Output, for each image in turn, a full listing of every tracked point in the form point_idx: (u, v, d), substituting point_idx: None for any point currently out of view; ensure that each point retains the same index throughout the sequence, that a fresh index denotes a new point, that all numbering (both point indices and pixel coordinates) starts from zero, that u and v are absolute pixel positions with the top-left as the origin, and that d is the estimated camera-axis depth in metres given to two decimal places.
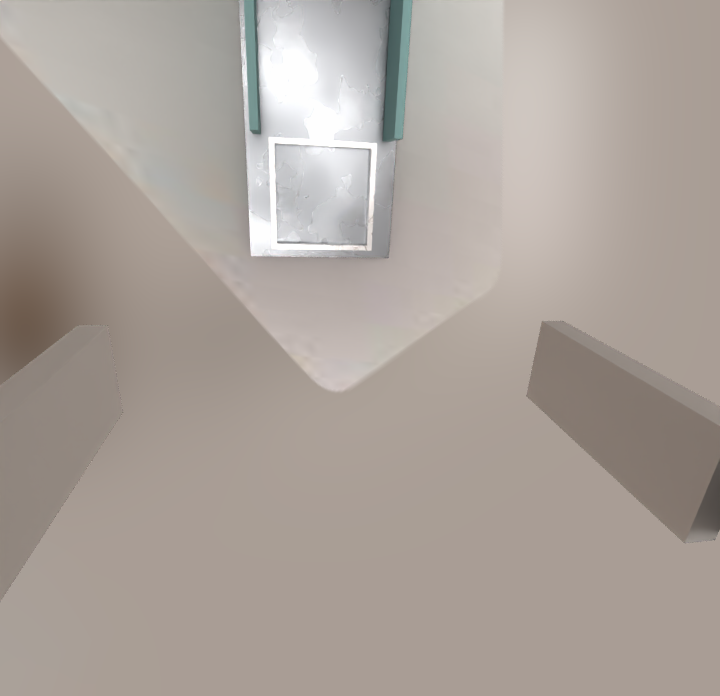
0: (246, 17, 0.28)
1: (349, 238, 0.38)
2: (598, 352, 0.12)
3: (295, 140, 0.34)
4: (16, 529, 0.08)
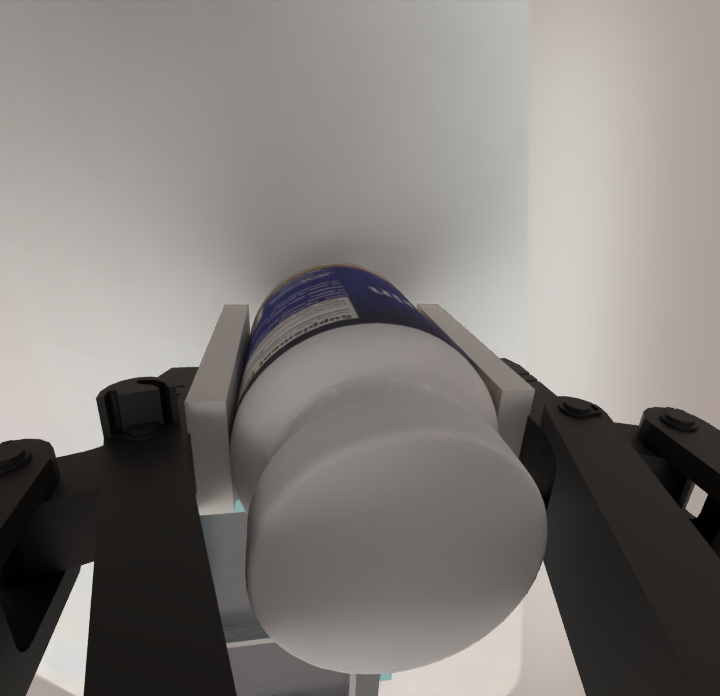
0: None
1: None
2: (445, 329, 0.13)
3: (248, 642, 0.25)
4: None
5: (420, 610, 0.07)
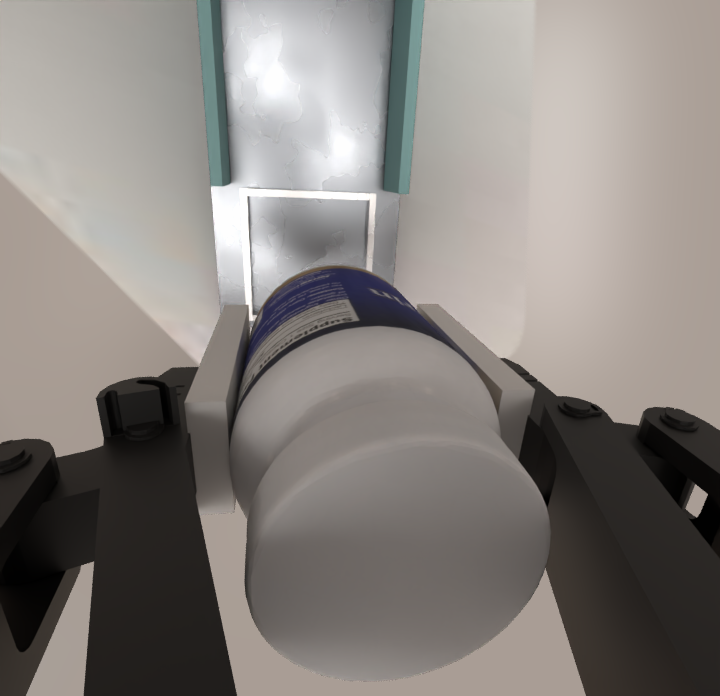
0: (202, 43, 0.21)
1: None
2: (445, 329, 0.13)
3: (273, 192, 0.27)
4: None
5: (422, 618, 0.07)
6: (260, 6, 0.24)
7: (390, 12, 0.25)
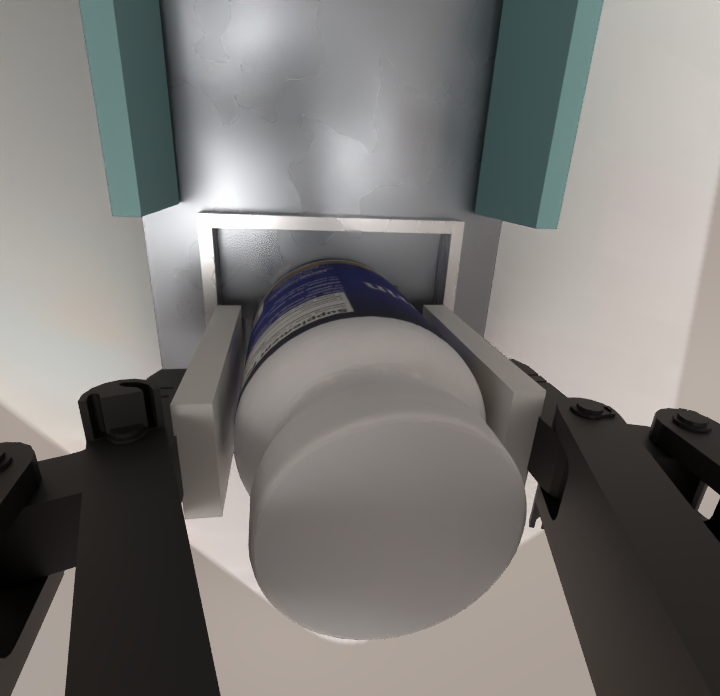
0: None
1: None
2: (453, 330, 0.13)
3: (265, 220, 0.13)
4: (225, 455, 0.10)
5: (409, 580, 0.08)
6: None
7: None
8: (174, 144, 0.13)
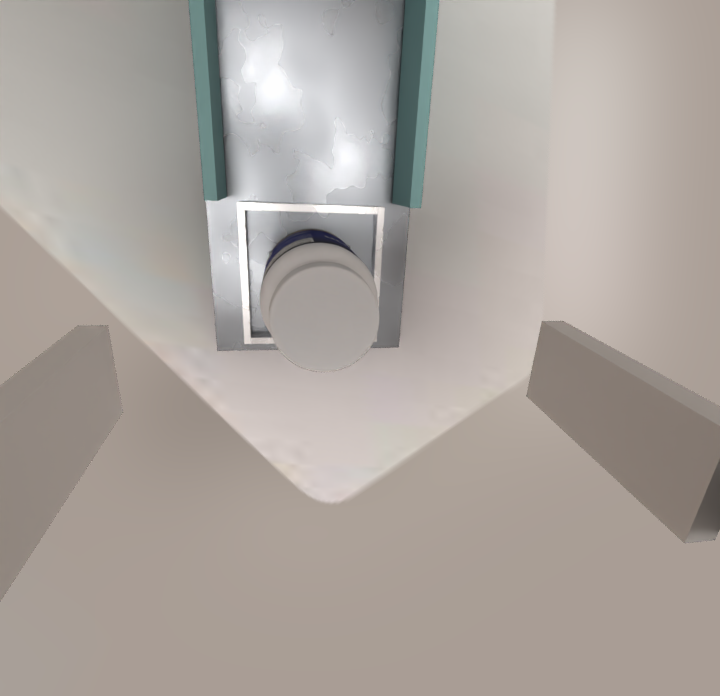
0: (194, 44, 0.19)
1: None
2: (598, 352, 0.12)
3: (273, 205, 0.25)
4: (16, 529, 0.08)
5: (332, 342, 0.19)
6: (259, 5, 0.22)
7: (400, 12, 0.23)
8: None
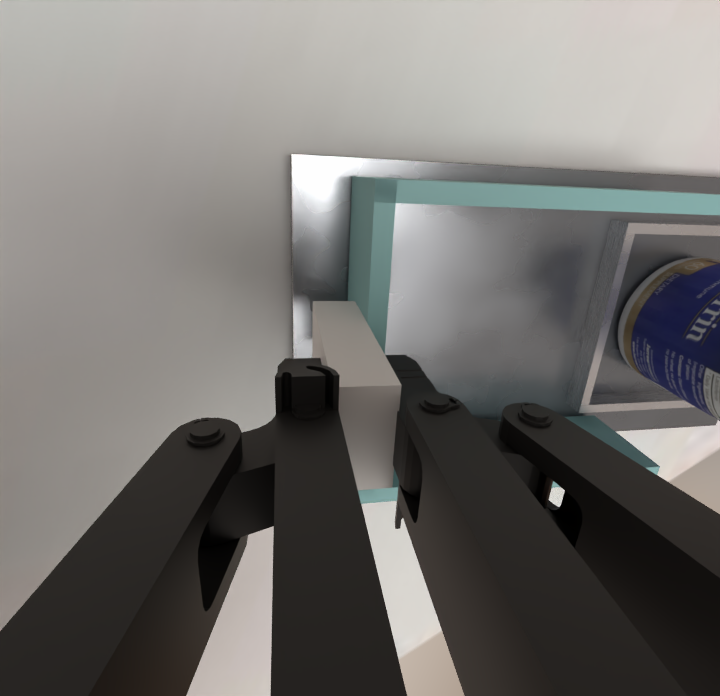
0: None
1: None
2: (346, 325, 0.13)
3: (591, 373, 0.19)
4: None
5: None
6: None
7: None
8: None
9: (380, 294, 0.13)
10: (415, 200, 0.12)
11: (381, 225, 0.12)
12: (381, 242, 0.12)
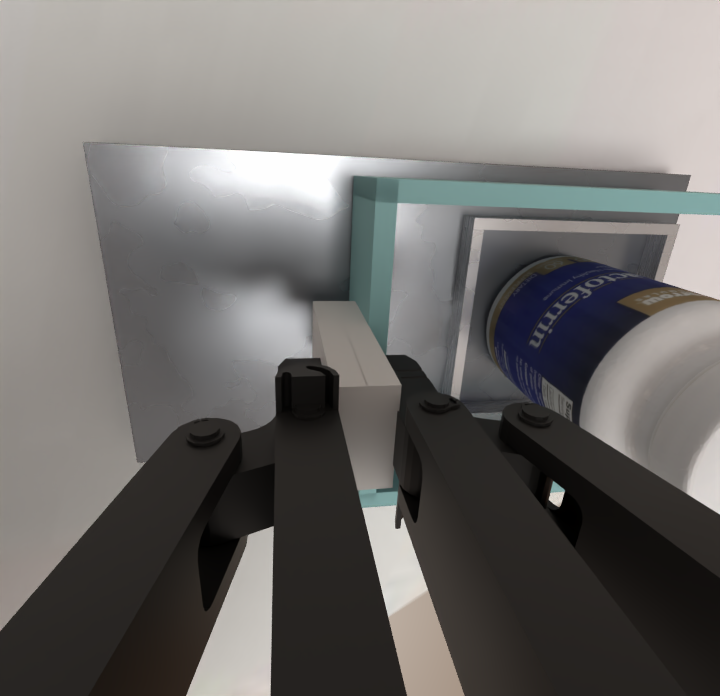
0: None
1: (629, 265, 0.18)
2: (347, 325, 0.13)
3: (455, 380, 0.18)
4: None
5: None
6: (216, 388, 0.18)
7: (188, 192, 0.15)
8: None
9: (381, 296, 0.13)
10: (417, 200, 0.12)
11: (382, 225, 0.12)
12: (382, 243, 0.12)
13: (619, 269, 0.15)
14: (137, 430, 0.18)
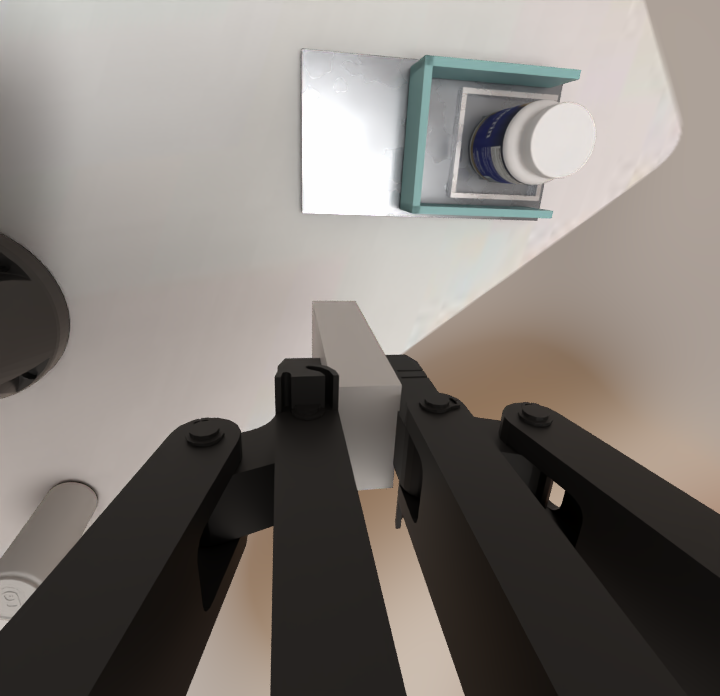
0: (480, 214, 0.36)
1: None
2: (347, 325, 0.13)
3: (454, 172, 0.38)
4: None
5: (577, 136, 0.30)
6: (342, 173, 0.37)
7: (340, 72, 0.35)
8: None
9: (425, 105, 0.32)
10: (440, 65, 0.32)
11: (427, 74, 0.32)
12: (426, 82, 0.32)
13: None
14: (304, 194, 0.37)
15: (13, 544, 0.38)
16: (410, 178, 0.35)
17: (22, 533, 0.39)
